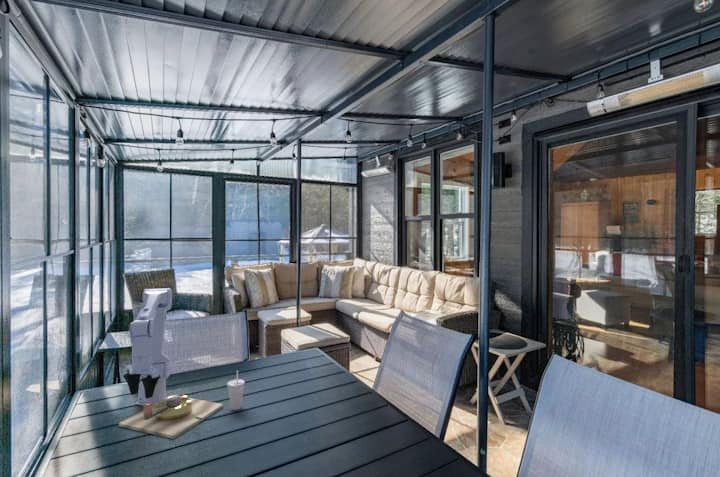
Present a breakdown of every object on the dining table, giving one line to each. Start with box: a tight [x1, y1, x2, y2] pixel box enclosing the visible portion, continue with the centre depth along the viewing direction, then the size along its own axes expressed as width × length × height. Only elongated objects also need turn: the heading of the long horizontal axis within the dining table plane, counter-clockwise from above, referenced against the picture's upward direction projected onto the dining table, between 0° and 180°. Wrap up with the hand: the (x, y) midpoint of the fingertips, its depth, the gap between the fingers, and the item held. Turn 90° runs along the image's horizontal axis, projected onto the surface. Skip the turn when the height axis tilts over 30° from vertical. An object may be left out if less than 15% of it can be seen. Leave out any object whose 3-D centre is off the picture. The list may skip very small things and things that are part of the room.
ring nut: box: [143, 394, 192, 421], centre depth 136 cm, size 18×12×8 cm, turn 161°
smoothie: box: [226, 370, 246, 411], centre depth 146 cm, size 6×6×14 cm
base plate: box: [118, 394, 224, 440], centre depth 139 cm, size 24×24×6 cm
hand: (141, 395), depth 131 cm, fingers open, 7 cm apart
